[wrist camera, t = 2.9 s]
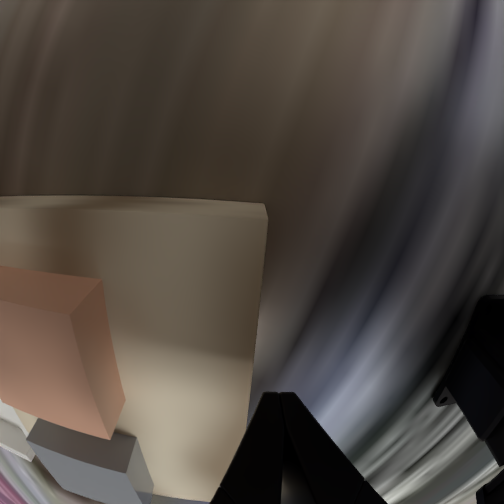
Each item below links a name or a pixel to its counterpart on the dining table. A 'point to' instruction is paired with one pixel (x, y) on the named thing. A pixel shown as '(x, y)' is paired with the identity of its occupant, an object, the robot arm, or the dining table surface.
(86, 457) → the slate tile
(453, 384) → the robot arm
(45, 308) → the terracotta tile
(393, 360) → the dining table surface
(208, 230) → the birch board
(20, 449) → the tray
